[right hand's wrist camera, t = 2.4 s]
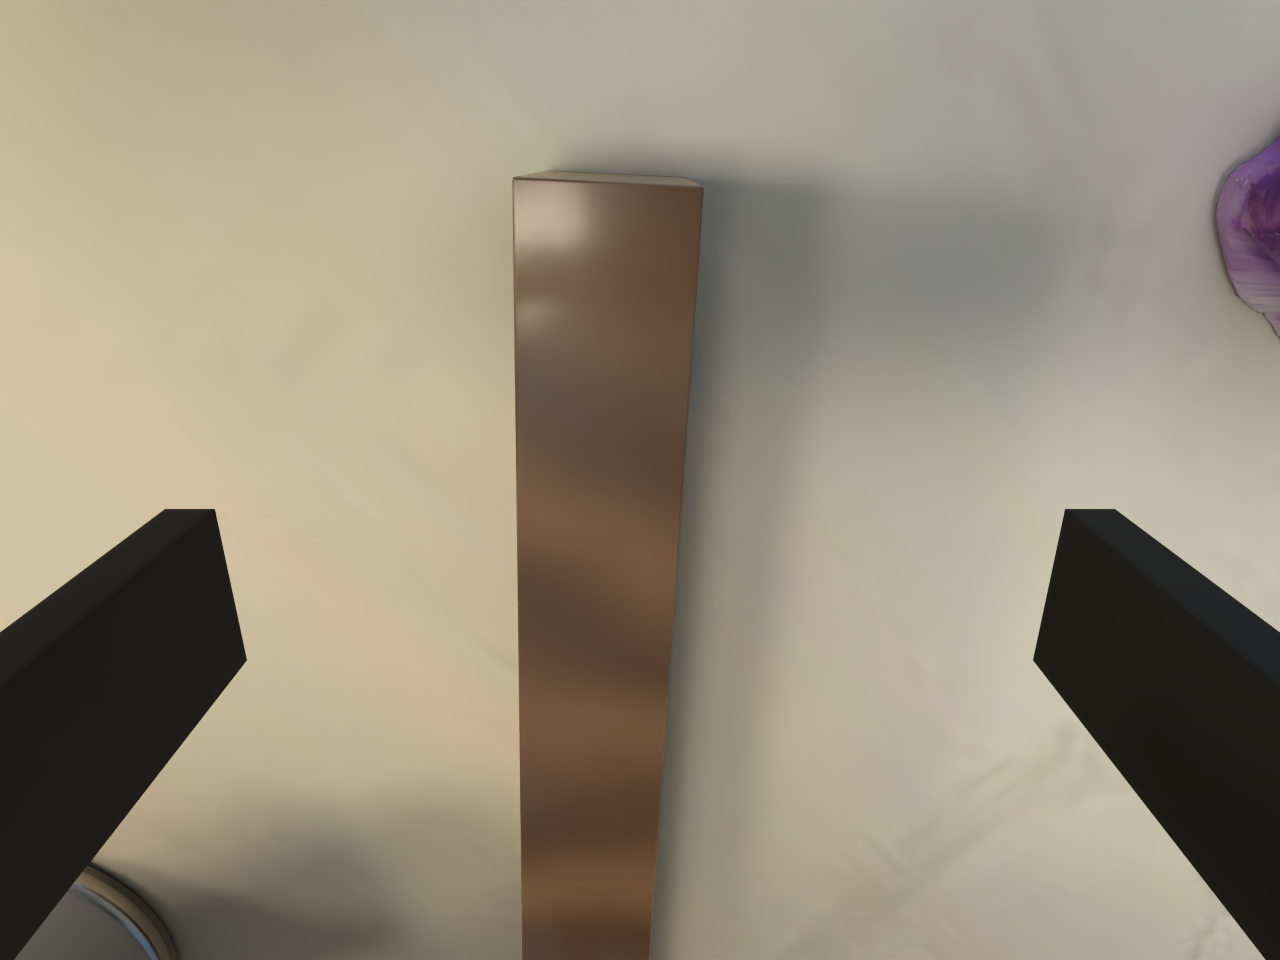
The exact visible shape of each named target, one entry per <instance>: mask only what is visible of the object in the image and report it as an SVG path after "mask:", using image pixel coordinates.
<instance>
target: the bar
mask: <svg viewBox="0 0 1280 960" xmlns="http://www.w3.org/2000/svg"><path fill="white" fill-rule="evenodd" d="M703 193H704V188H703V186H701V185H699V184H697V183H695V182H693V181H691V180H690V179H688V178H685V177H664V176H643V175H622V174H602V173H581V172H560V171H544V172H538V173H533V174H528V175H523V176H517V177H514V178H513V257H514V336H515V415H516V494H517V573H518V652H519V730H520V809H521V888H522V960H650V951H651V937H652V923H653V908H654V894H655V880H656V865H657V851H658V837H659V822H660V808H661V794H662V779H663V765H664V751H665V736H666V722H667V708H668V694H669V679H670V665H671V651H672V636H673V622H674V608H675V593H676V579H677V565H678V550H679V536H680V522H681V508H682V493H683V479H684V465H685V450H686V436H687V422H688V407H689V393H690V379H691V364H692V350H693V336H694V321H695V307H696V293H697V279H698V264H699V250H700V236H701V221H702V207H703Z"/></svg>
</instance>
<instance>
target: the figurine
mask: <svg viewBox="0 0 1280 960" xmlns="http://www.w3.org/2000/svg"><path fill="white" fill-rule="evenodd" d="M1215 221H1216V224H1217V230H1218V235H1219V239H1220V243H1221V248H1222V252H1223V256H1224V260H1225V264H1226V269H1227V273H1228V275H1229V277H1230V280H1231V282H1232V284H1233V286H1234V288H1235V290H1236V292H1237V294H1236V295H1237V296H1238V297H1239V298H1240V299H1242V300H1243V301H1244V302H1245V303H1247V304H1248V305H1249V306H1250V307H1251V308H1253V309H1254V310H1255V311H1256V312H1258V313H1265V316H1266V318H1267V319H1268V320H1269V321H1270V323H1271V324H1272V326H1273V328H1274V330H1275V331H1276V333H1277V335H1278V336H1279V337H1280V136H1279V137H1278V138H1277V139H1276V140H1275V141H1274V142H1273V143H1272V144H1270V145H1269V146H1267V147H1266V148H1264V149H1263V150H1262V152H1261V153H1260V154H1258V155H1256V156H1255V157H1254V158H1252V159H1250V160H1248V161H1245V162H1244V163H1242V164H1241V165H1239V166H1238V167H1237V168H1236V169H1235V170H1234V171H1233V172H1232V173H1231V174H1230V175H1229V177H1228V178H1227V179H1226V181H1225V183H1224V186H1223V187H1222V190H1221V194H1220V197H1219V200H1218V203H1217V205H1216V211H1215Z"/></svg>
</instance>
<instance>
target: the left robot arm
mask: <svg viewBox="0 0 1280 960" xmlns="http://www.w3.org/2000/svg"><path fill="white" fill-rule="evenodd" d="M14 960H177V956H176V952H175V948H174V946H173V943H172V941H171V939H170V937H169V935H168V933H167V931H166V929H165V928H164V926H163V925H162V923H161V922H160V920H159V919H158V918H157V917H156V915H155V914H154V913H153V912H152V911H151V910H150V908H149V907H148V906H147V905H146V904H145V903H144V902H143V901H141V900H140V899H139V898H138V897H137V896H136V895H135V894H134V893H132V892H131V891H130V890H128V889H127V888H126V887H124V886H123V885H121V884H120V883H118V882H117V881H115V880H114V879H112V878H110V877H109V876H107V875H105V874H103V873H102V872H100V871H98V870H96V869H94V868H92V867H89V866H87V867H86V868H85V869H84V871H83V872H82V873H81V874H80V876H79V877H78V878H77V880H76V881H75V882H74V883H73V885H72V886H71V887H70V889H69V890H68V891H67V892H66V894H65V895H64V896H63V898H62V899H61V900H60V901H59V903H58V904H57V905H56V907H55V908H54V909H53V910H52V912H51V913H50V914H49V916H48V917H47V918H46V919H45V921H44V922H43V923H42V925H41V926H40V927H39V929H38V930H37V931H36V932H35V934H34V935H33V936H32V938H31V939H30V940H29V941H28V943H27V944H26V945H25V947H24V948H23V949H22V950H21V952H20V953H19V954H18V956H17V957H16V958H15V959H14Z"/></svg>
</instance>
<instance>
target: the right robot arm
mask: <svg viewBox="0 0 1280 960" xmlns="http://www.w3.org/2000/svg"><path fill="white" fill-rule="evenodd" d="M246 661H247V658H246V654H245V649H244V644H243V640H242V635H241V630H240V625H239V621H238V616H237V611H236V607H235V602H234V597H233V593H232V588H231V583H230V578H229V574H228V569H227V564H226V560H225V555H224V550H223V546H222V541H221V536H220V531H219V527H218V522H217V517H216V513H215V509H165V510H163V511H162V512H161V513H159V514H158V515H157V516H155V517H154V518H153V519H151V520H150V521H149V522H147V523H146V524H145V525H143V526H142V527H141V528H139V529H138V530H137V531H135V532H134V533H133V534H131V535H130V536H129V537H127V538H126V539H125V540H123V541H122V542H121V543H119V544H118V545H116V546H115V547H114V548H112V549H111V550H110V551H108V552H107V553H106V554H104V555H103V556H102V557H100V558H99V559H98V560H96V561H95V562H94V563H92V564H91V565H90V566H88V567H87V568H86V569H84V570H83V571H82V572H80V573H79V574H78V575H76V576H75V577H74V578H72V579H71V580H70V581H68V582H67V583H66V584H64V585H63V586H62V587H60V588H59V589H58V590H56V591H55V592H54V593H52V594H51V595H50V596H48V597H47V598H46V599H44V600H43V601H42V602H40V603H39V604H38V605H36V606H35V607H34V608H32V609H31V610H30V611H28V612H27V613H26V614H24V615H23V616H22V617H20V618H19V619H18V620H16V621H15V622H13V623H12V624H11V625H9V626H8V627H7V628H5V629H4V630H3V631H1V632H0V960H14V959H15V958H16V957H17V956H18V954H19V953H20V952H21V950H22V949H23V948H24V947H25V945H26V944H27V943H28V941H29V940H30V939H31V938H32V936H33V935H34V934H35V932H36V931H37V930H38V929H39V927H40V926H41V925H42V923H43V922H44V921H45V919H46V918H47V917H48V916H49V914H50V913H51V912H52V910H53V909H54V908H55V907H56V905H57V904H58V903H59V901H60V900H61V899H62V898H63V896H64V895H65V894H66V892H67V891H68V890H69V889H70V887H71V886H72V885H73V883H74V882H75V881H76V880H77V878H78V877H79V876H80V874H81V873H82V872H83V871H84V869H85V868H86V867H87V865H88V864H89V863H90V862H91V860H92V859H93V858H94V856H95V855H96V854H97V853H98V851H99V850H100V849H101V847H102V846H103V845H104V844H105V842H106V841H107V840H108V838H109V837H110V836H111V835H112V833H113V832H114V831H115V829H116V828H117V827H118V826H119V824H120V823H121V822H122V820H123V819H124V818H125V817H126V815H127V814H128V813H129V811H130V810H131V809H132V807H133V806H134V805H135V804H136V802H137V801H138V800H139V798H140V797H141V796H142V795H143V793H144V792H145V791H146V789H147V788H148V787H149V786H150V784H151V783H152V782H153V780H154V779H155V778H156V777H157V775H158V774H159V773H160V771H161V770H162V769H163V768H164V766H165V765H166V764H167V762H168V761H169V760H170V759H171V757H172V756H173V755H174V753H175V752H176V751H177V750H178V748H179V747H180V746H181V744H182V743H183V742H184V741H185V739H186V738H187V737H188V735H189V734H190V733H191V732H192V730H193V729H194V728H195V726H196V725H197V724H198V723H199V721H200V720H201V719H202V717H203V716H204V715H205V714H206V712H207V711H208V710H209V708H210V707H211V706H212V705H213V703H214V702H215V701H216V699H217V698H218V697H219V695H220V694H221V693H222V692H223V690H224V689H225V688H226V686H227V685H228V684H229V683H230V681H231V680H232V679H233V677H234V676H235V675H236V674H237V672H238V671H239V670H240V668H241V667H242V666H243V665H244V663H245V662H246ZM1033 661H1034V662H1035V663H1036V665H1037V666H1038V667H1039V668H1040V670H1041V671H1042V672H1043V674H1044V675H1045V676H1046V677H1047V679H1048V680H1049V681H1050V683H1051V684H1052V685H1053V686H1054V688H1055V689H1056V690H1057V692H1058V693H1059V694H1060V696H1061V697H1062V698H1063V699H1064V701H1065V702H1066V703H1067V705H1068V706H1069V707H1070V708H1071V710H1072V711H1073V712H1074V714H1075V715H1076V716H1077V717H1078V719H1079V720H1080V721H1081V723H1082V724H1083V725H1084V726H1085V728H1086V729H1087V730H1088V732H1089V733H1090V734H1091V735H1092V737H1093V738H1094V739H1095V741H1096V742H1097V743H1098V744H1099V746H1100V747H1101V748H1102V750H1103V751H1104V752H1105V753H1106V755H1107V756H1108V757H1109V759H1110V760H1111V761H1112V762H1113V764H1114V765H1115V766H1116V768H1117V769H1118V770H1119V771H1120V773H1121V774H1122V775H1123V777H1124V778H1125V779H1126V780H1127V782H1128V783H1129V784H1130V786H1131V787H1132V788H1133V789H1134V791H1135V792H1136V793H1137V795H1138V796H1139V797H1140V798H1141V800H1142V801H1143V802H1144V804H1145V805H1146V806H1147V808H1148V809H1149V810H1150V811H1151V813H1152V814H1153V815H1154V817H1155V818H1156V819H1157V820H1158V822H1159V823H1160V824H1161V826H1162V827H1163V828H1164V829H1165V831H1166V832H1167V833H1168V835H1169V836H1170V837H1171V838H1172V840H1173V841H1174V842H1175V844H1176V845H1177V846H1178V847H1179V849H1180V850H1181V851H1182V853H1183V854H1184V855H1185V856H1186V858H1187V859H1188V860H1189V862H1190V863H1191V864H1192V865H1193V867H1194V868H1195V869H1196V871H1197V872H1198V873H1199V874H1200V876H1201V877H1202V878H1203V880H1204V881H1205V882H1206V883H1207V885H1208V886H1209V887H1210V889H1211V890H1212V891H1213V892H1214V894H1215V895H1216V896H1217V898H1218V899H1219V900H1220V901H1221V903H1222V904H1223V905H1224V907H1225V908H1226V909H1227V910H1228V912H1229V913H1230V914H1231V916H1232V917H1233V918H1234V920H1235V921H1236V922H1237V923H1238V925H1239V926H1240V927H1241V929H1242V930H1243V931H1244V932H1245V934H1246V935H1247V936H1248V938H1249V939H1250V940H1251V941H1252V943H1253V944H1254V945H1255V947H1256V948H1257V949H1258V950H1259V952H1260V953H1261V954H1262V956H1263V957H1264V958H1265V959H1266V960H1280V632H1279V631H1277V630H1276V629H1275V628H1273V627H1272V626H1271V625H1269V624H1268V623H1267V622H1265V621H1264V620H1262V619H1261V618H1260V617H1258V616H1257V615H1256V614H1254V613H1253V612H1252V611H1250V610H1249V609H1248V608H1246V607H1245V606H1244V605H1242V604H1241V603H1240V602H1238V601H1237V600H1236V599H1234V598H1233V597H1232V596H1230V595H1229V594H1228V593H1226V592H1225V591H1224V590H1222V589H1221V588H1220V587H1218V586H1217V585H1216V584H1214V583H1213V582H1212V581H1210V580H1209V579H1208V578H1206V577H1205V576H1204V575H1202V574H1201V573H1200V572H1198V571H1197V570H1196V569H1194V568H1193V567H1192V566H1190V565H1189V564H1188V563H1186V562H1185V561H1184V560H1182V559H1181V558H1180V557H1178V556H1177V555H1176V554H1174V553H1173V552H1172V551H1170V550H1169V549H1168V548H1166V547H1165V546H1163V545H1162V544H1161V543H1159V542H1158V541H1157V540H1155V539H1154V538H1153V537H1151V536H1150V535H1149V534H1147V533H1146V532H1145V531H1143V530H1142V529H1141V528H1139V527H1138V526H1137V525H1135V524H1134V523H1133V522H1131V521H1130V520H1129V519H1127V518H1126V517H1125V516H1123V515H1122V514H1121V513H1119V512H1118V511H1117V510H1115V509H1065V513H1064V517H1063V522H1062V527H1061V531H1060V536H1059V541H1058V545H1057V550H1056V555H1055V560H1054V564H1053V569H1052V574H1051V578H1050V583H1049V588H1048V593H1047V597H1046V602H1045V607H1044V611H1043V616H1042V621H1041V625H1040V630H1039V635H1038V640H1037V644H1036V649H1035V654H1034V658H1033Z"/></svg>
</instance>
